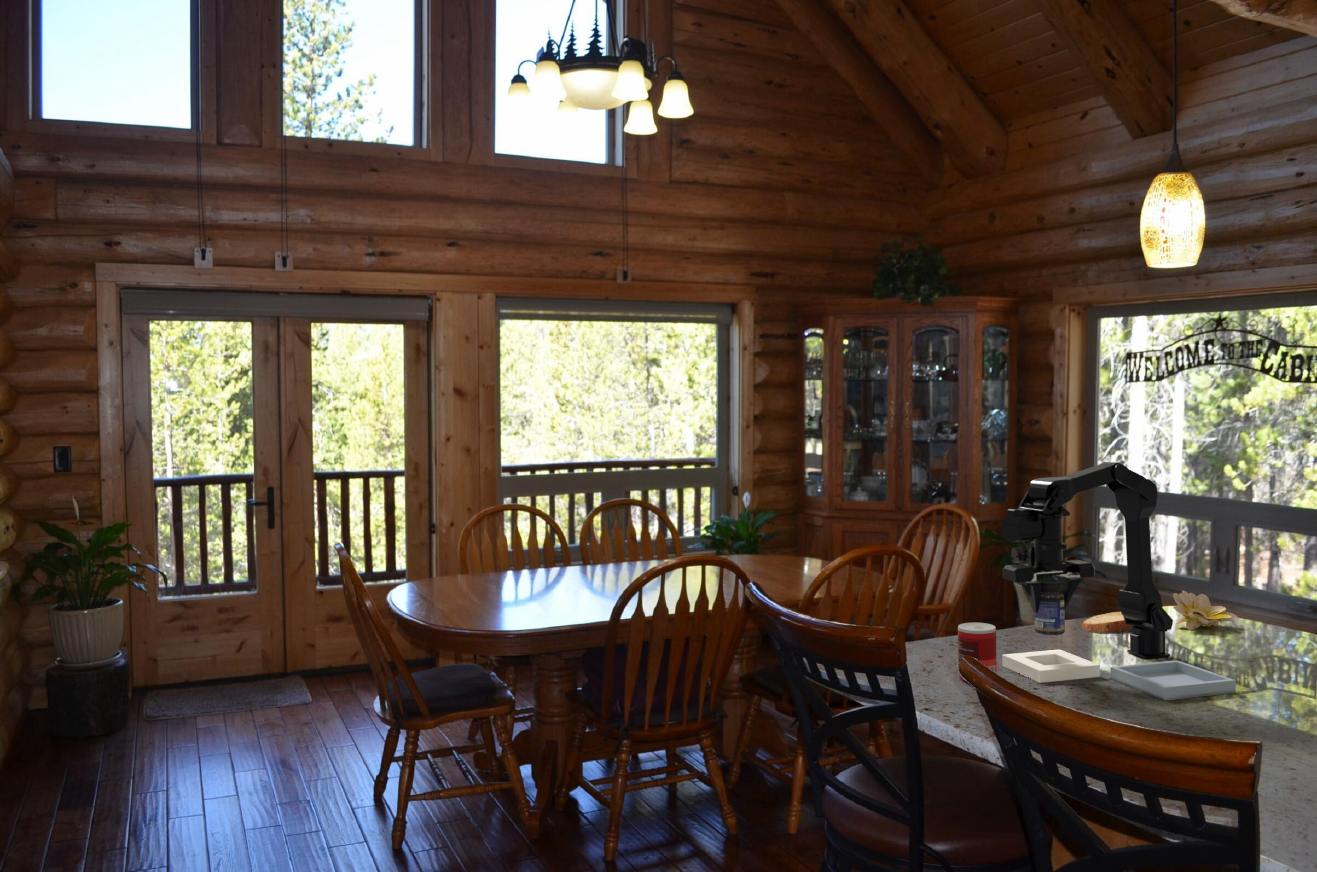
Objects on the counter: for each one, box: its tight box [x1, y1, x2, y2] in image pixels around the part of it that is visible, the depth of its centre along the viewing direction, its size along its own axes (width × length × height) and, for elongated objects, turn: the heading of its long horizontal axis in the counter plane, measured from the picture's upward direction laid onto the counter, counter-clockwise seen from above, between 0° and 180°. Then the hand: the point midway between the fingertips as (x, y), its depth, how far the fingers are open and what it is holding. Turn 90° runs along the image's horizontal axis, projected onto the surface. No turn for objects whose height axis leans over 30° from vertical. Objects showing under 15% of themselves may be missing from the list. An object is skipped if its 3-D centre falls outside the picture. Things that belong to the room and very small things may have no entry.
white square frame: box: [1001, 649, 1101, 684], centre depth 222 cm, size 14×14×2 cm
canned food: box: [957, 622, 998, 682], centre depth 218 cm, size 8×8×11 cm
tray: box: [1109, 659, 1237, 701], centre depth 209 cm, size 16×16×2 cm
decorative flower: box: [1172, 590, 1241, 631], centre depth 256 cm, size 15×11×10 cm
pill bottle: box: [1033, 578, 1066, 636], centre depth 221 cm, size 6×6×11 cm
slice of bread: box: [1081, 611, 1132, 634], centre depth 260 cm, size 18×18×4 cm
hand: (1049, 611), depth 221 cm, fingers closed on pill bottle, 6 cm apart
